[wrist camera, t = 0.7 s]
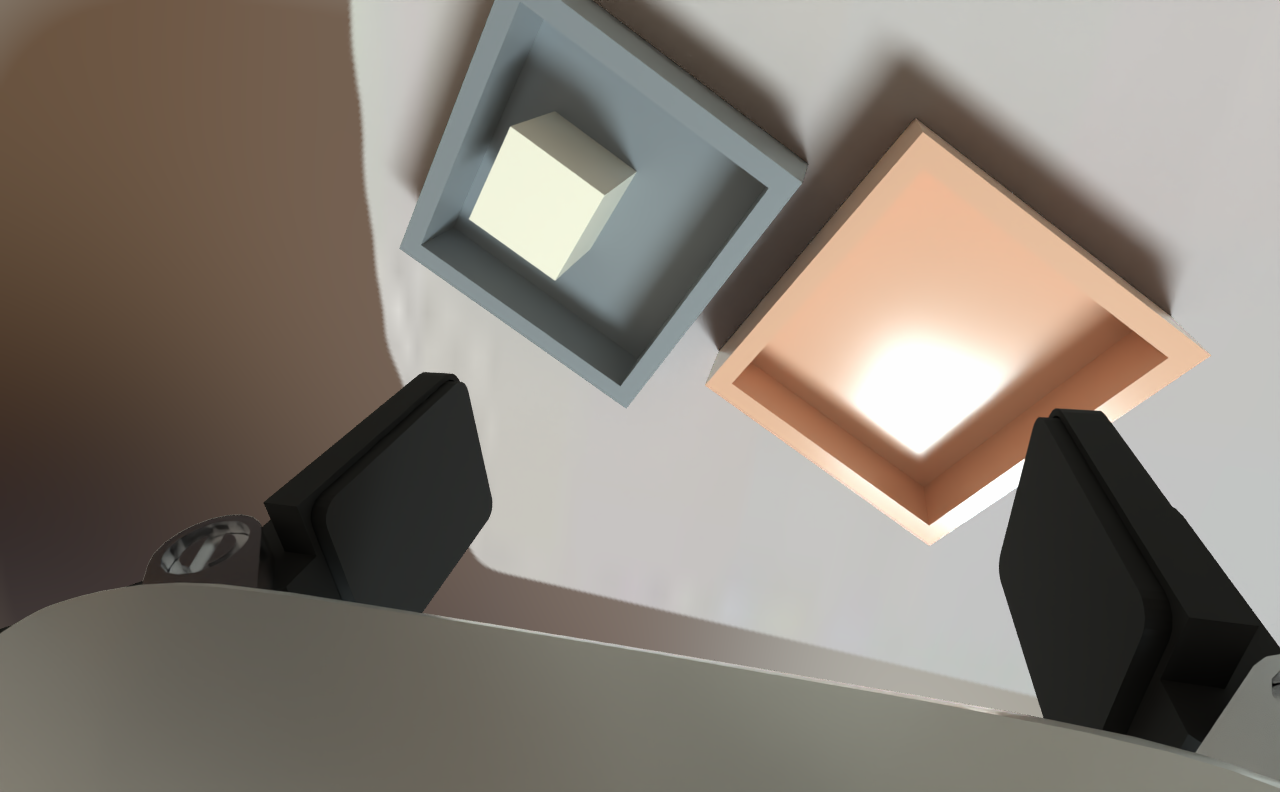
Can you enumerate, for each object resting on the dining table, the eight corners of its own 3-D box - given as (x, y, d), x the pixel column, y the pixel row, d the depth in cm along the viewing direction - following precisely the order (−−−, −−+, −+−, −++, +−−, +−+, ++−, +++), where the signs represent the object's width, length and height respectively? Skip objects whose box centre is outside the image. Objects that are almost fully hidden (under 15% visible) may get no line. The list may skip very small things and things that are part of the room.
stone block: (555, 111, 38) (510, 126, 33) (636, 171, 39) (604, 195, 34) (514, 194, 42) (468, 219, 37) (590, 248, 42) (555, 280, 37)
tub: (915, 117, 34) (922, 132, 30) (1171, 316, 35) (1210, 355, 31) (718, 351, 44) (705, 385, 40) (923, 499, 45) (929, 546, 42)
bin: (548, -34, 35) (509, -39, 31) (808, 164, 37) (802, 182, 33) (439, 227, 45) (399, 248, 42) (645, 375, 47) (626, 408, 43)
